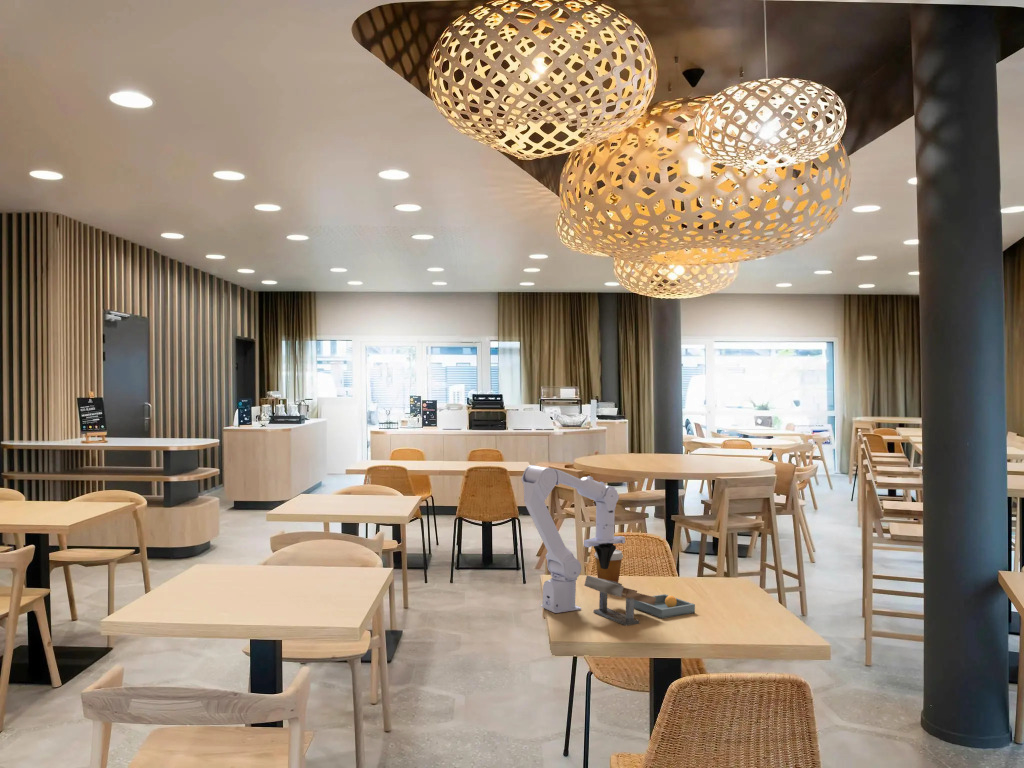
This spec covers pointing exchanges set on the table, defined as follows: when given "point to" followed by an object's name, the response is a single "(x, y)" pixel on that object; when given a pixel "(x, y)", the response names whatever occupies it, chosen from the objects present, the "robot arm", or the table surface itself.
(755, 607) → the table surface
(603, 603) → the chute stand
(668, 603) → the ball
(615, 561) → the disposable coffee cup
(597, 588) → the chute
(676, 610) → the tray
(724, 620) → the table surface
